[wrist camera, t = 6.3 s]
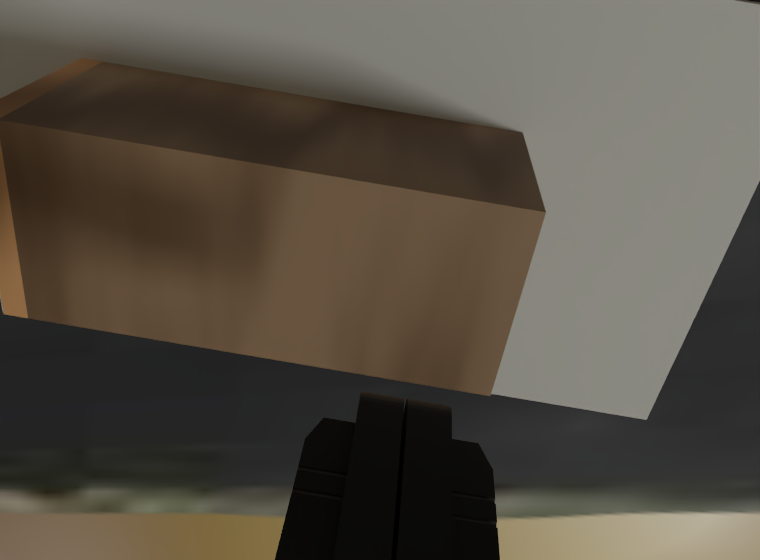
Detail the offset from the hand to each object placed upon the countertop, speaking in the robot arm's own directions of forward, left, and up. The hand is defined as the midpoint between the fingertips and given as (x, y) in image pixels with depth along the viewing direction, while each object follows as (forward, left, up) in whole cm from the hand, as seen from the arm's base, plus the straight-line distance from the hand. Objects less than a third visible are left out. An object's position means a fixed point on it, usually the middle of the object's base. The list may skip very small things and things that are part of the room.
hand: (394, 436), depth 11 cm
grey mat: (-2, 0, -10) cm, 10 cm away
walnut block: (+2, 0, -7) cm, 7 cm away
